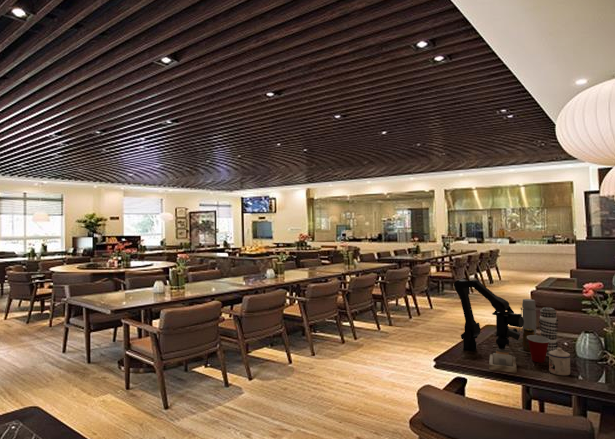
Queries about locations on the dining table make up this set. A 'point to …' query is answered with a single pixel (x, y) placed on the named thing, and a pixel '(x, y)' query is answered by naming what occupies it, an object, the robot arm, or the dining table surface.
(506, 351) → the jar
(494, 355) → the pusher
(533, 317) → the water bottle
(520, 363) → the dining table surface
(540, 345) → the plastic cup
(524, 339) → the condiment
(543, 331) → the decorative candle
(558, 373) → the teacup with lid
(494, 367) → the tan piece
